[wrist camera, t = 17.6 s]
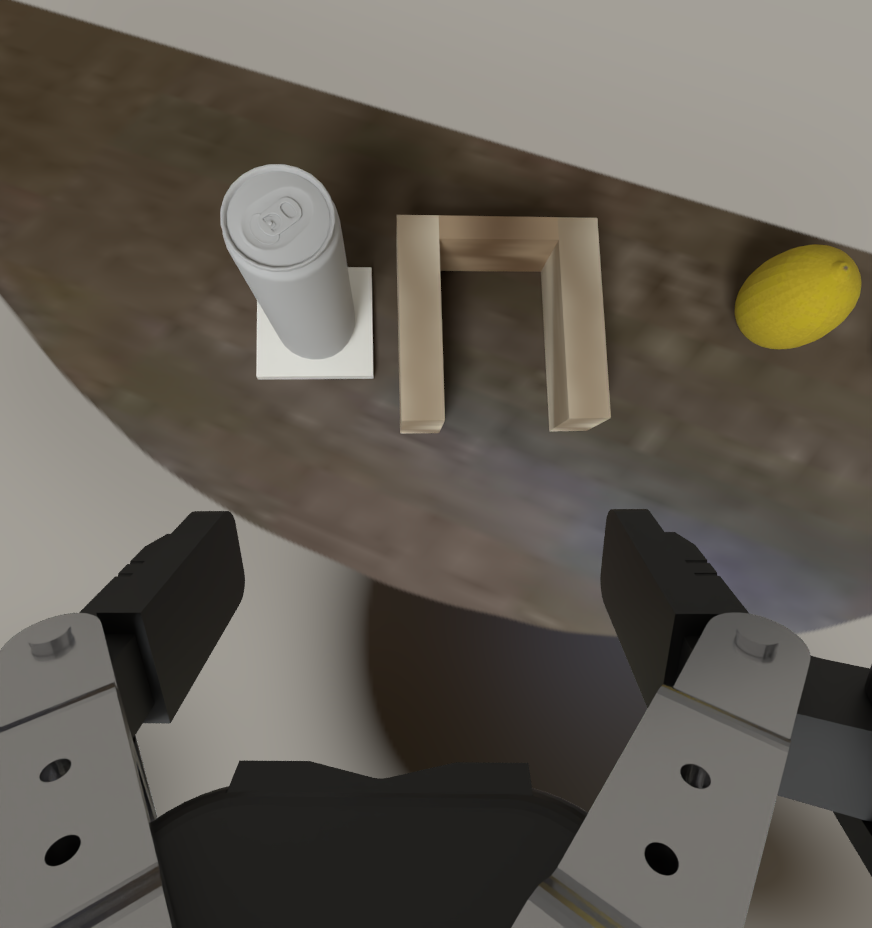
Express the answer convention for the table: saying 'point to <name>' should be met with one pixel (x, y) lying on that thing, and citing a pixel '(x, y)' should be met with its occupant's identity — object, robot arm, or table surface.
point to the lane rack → (504, 249)
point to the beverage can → (292, 256)
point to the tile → (343, 365)
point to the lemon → (797, 296)
